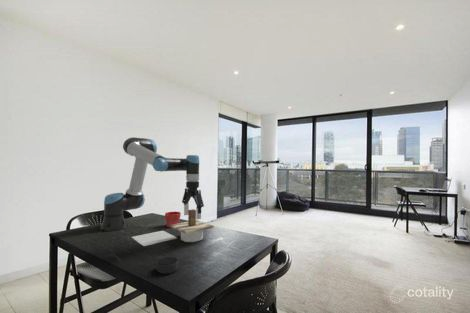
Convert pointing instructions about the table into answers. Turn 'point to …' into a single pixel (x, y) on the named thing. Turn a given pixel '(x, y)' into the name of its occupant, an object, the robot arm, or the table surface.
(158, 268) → the smart speaker
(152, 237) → the tray
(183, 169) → the robot arm
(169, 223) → the flower pot
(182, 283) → the table surface
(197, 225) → the lid
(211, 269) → the table surface
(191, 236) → the bowl
